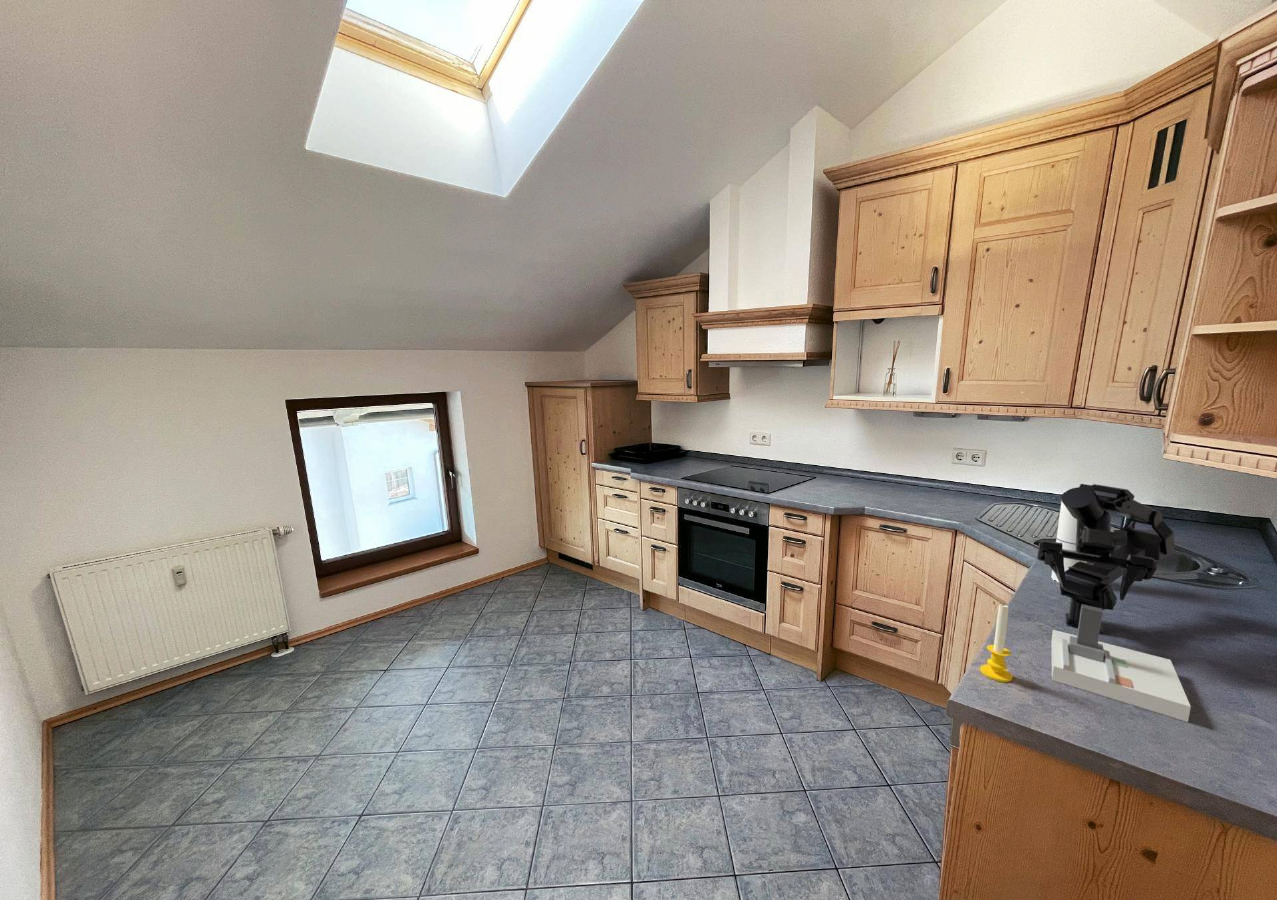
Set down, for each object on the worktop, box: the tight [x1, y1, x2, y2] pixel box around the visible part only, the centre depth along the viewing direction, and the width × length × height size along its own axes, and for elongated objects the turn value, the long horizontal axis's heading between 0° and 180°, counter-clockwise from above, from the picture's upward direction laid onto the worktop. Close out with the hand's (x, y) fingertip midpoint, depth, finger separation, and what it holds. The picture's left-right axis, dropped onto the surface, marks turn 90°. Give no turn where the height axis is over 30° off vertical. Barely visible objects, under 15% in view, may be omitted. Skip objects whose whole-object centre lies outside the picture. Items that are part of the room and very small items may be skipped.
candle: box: [979, 604, 1013, 683], centre depth 95 cm, size 5×5×16 cm
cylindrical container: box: [1051, 500, 1088, 583], centre depth 137 cm, size 7×7×25 cm
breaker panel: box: [1050, 629, 1191, 723], centre depth 94 cm, size 18×18×4 cm
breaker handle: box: [1069, 604, 1104, 662], centre depth 97 cm, size 4×5×10 cm
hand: (1092, 593), depth 102 cm, fingers open, 9 cm apart
